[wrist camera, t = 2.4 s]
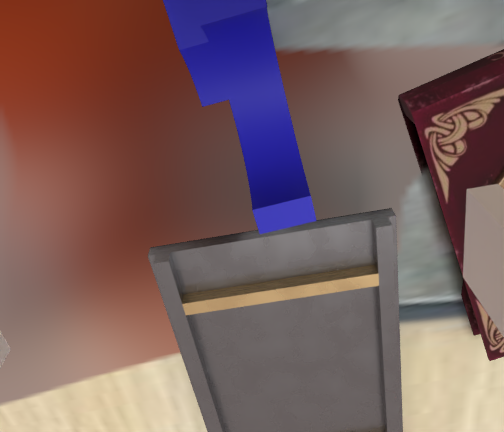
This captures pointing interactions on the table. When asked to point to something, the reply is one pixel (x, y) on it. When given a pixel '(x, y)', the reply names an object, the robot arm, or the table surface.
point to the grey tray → (290, 325)
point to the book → (461, 155)
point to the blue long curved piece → (247, 99)
